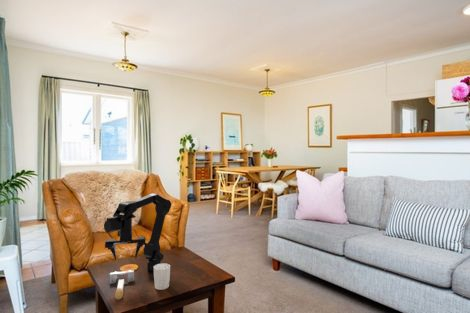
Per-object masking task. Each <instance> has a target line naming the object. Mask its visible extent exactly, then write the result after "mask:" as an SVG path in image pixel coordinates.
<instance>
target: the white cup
mask: <svg viewBox="0 0 470 313" xmlns="http://www.w3.org/2000/svg"><path fill="white" fill-rule="evenodd" d="M170 277H171V265H170V263H164V262H163V263H160V264H157V265H155V266H154V272H153V279H154V280H153V281H154V288H155V289H156V290H159V291H162V290H163V291H164V290H167V289H168V288H169V286H170V280H171V278H170Z"/></svg>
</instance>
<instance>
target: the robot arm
mask: <svg viewBox="0 0 470 313" xmlns="http://www.w3.org/2000/svg"><path fill="white" fill-rule="evenodd" d="M150 204H153V205H154V206H155V208H154V210H155V213H156V214H155V219H154V223H153V227H152V231H151V234H150V238H149V241H148V242H147V241H146V236H137V238H134V239H133V219H135V218H136V215H135V214H134V213H136V212H137V210H139V209H140V208H143V207H146V206H148V205H150ZM171 208H172V202H171V200H169V199H166V198H165V197H163V196H161V195H160V194H158V193H153V192H151V193H150V194H148V195H145V196H143V197H140V198H137V199H134V200H129V201H121V202H120V203H119V204H118V206H117V207H116V210H115V211H114V213H113V215H112V217H106V220H105V221H104V224H103V229H104V231H105V233H112V232H116V231H117V238H119V240H116V239H115V238H107V239H106V240H105V243H104V249H107V250H110V252H111V254H112V255H113V257H114V260H115V261H117V250H116V249H117V247H116V246H117V245H130V244H136V248H135V254H134V255H135V257H134V259H137V256H138V254H139V251H140V249H141V247H144V248H143V250H142V251H143V255H144V257H145V259H147V260H148V261H147V263H146V264H147V267H146V268H147V271H148V274H152V273H153V274H154V266H155V265H157V264H161V262H162V260H164V256H165V255H164V254H163V253H162V252H161V244H160V240H161V236H162V232H163V227H164V222H165V220H166V216H167V215H168V213H169V212H170V211H171Z"/></svg>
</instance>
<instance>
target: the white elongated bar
mask: <svg viewBox="0 0 470 313" xmlns="http://www.w3.org/2000/svg"><path fill="white" fill-rule="evenodd" d="M124 286H125V278H119V279H118V282H117V288H116V290H115V295H114V298H115V299H116V300H117V301H119V300H121V299H122V298H123V295H124Z"/></svg>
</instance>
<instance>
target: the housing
mask: <svg viewBox="0 0 470 313" xmlns="http://www.w3.org/2000/svg"><path fill="white" fill-rule="evenodd" d="M121 275H127V282H128V283H129V282H134V280H135V270H134V269H133V270H131V269H128V270H126V271H118V270H117V271H114V272H110V273H109V284H110V285H112V284H116V283H117V279H118V276H121Z"/></svg>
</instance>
